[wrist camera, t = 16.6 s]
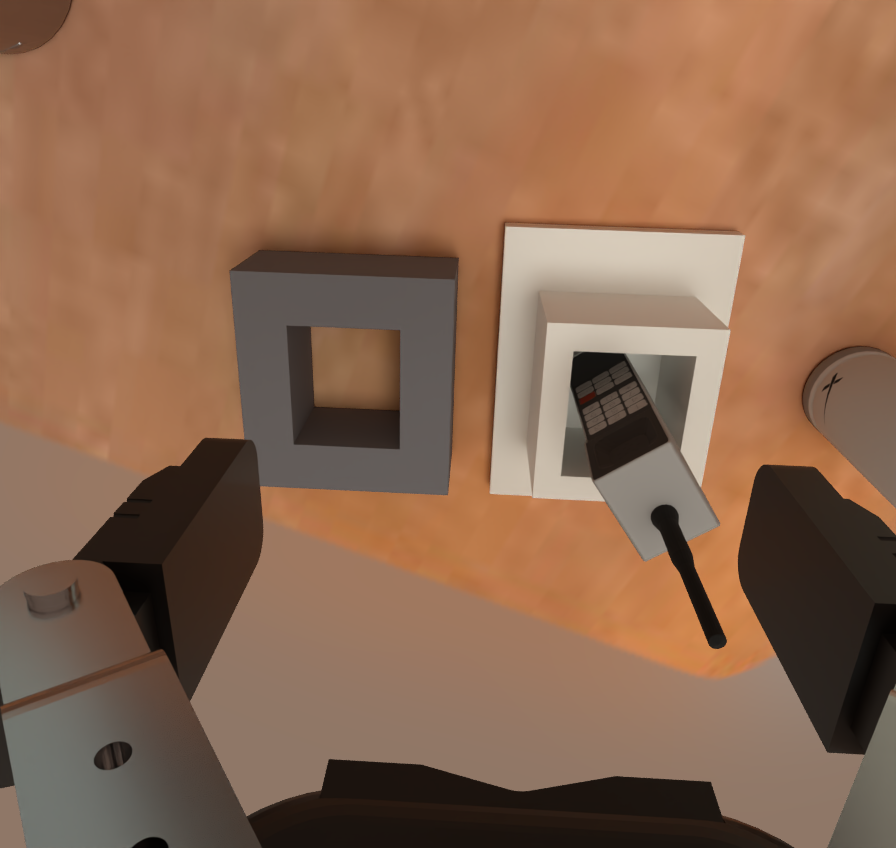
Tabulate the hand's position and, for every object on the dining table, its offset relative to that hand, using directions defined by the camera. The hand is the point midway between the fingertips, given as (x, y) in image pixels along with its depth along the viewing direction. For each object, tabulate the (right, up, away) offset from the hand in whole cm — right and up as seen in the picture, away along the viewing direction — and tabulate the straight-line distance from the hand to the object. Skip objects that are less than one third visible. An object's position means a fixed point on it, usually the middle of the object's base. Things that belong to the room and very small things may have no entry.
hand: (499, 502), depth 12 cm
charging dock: (+9, +5, +37) cm, 38 cm away
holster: (-7, +6, +37) cm, 38 cm away
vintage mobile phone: (+9, +5, +36) cm, 37 cm away
